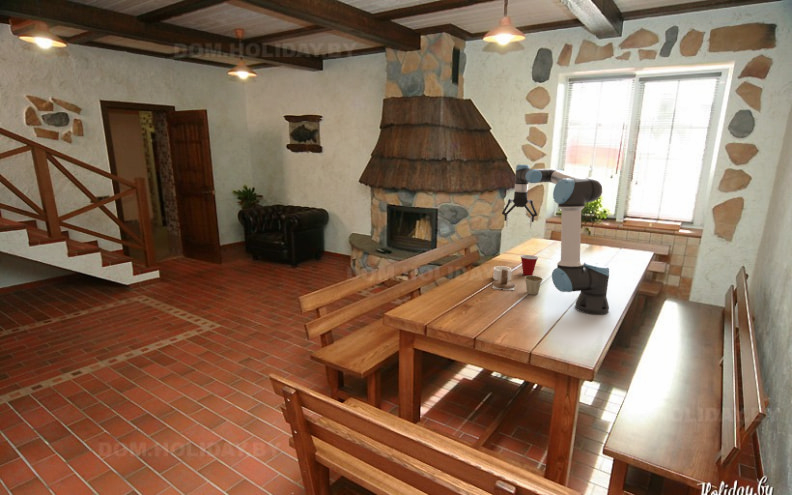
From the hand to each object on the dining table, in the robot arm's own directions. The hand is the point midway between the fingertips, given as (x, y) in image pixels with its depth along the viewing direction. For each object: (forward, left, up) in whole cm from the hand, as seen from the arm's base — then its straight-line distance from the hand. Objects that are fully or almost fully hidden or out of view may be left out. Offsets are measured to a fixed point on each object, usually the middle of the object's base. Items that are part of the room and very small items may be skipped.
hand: (518, 226), depth 249 cm
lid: (+5, +19, -31) cm, 37 cm away
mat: (+5, +19, -32) cm, 37 cm away
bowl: (+7, +5, -32) cm, 33 cm away
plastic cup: (-8, -9, -32) cm, 34 cm away
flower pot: (-10, +26, -32) cm, 42 cm away
